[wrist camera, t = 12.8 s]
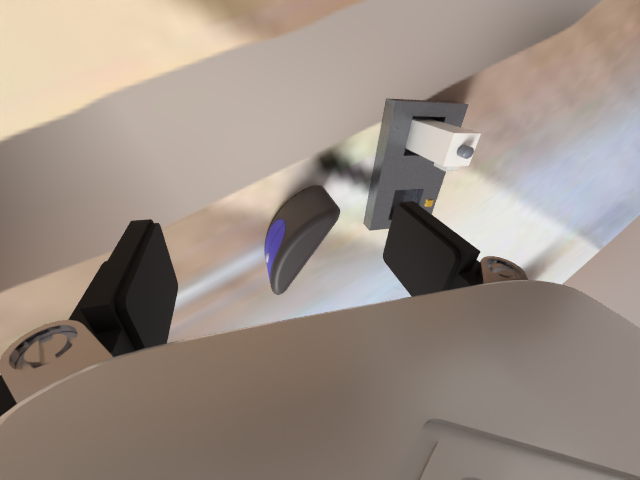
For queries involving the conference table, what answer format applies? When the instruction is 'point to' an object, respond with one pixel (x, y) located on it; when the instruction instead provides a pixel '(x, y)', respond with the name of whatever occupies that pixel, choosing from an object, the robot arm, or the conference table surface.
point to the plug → (442, 143)
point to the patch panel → (405, 160)
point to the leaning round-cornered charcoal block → (298, 234)
